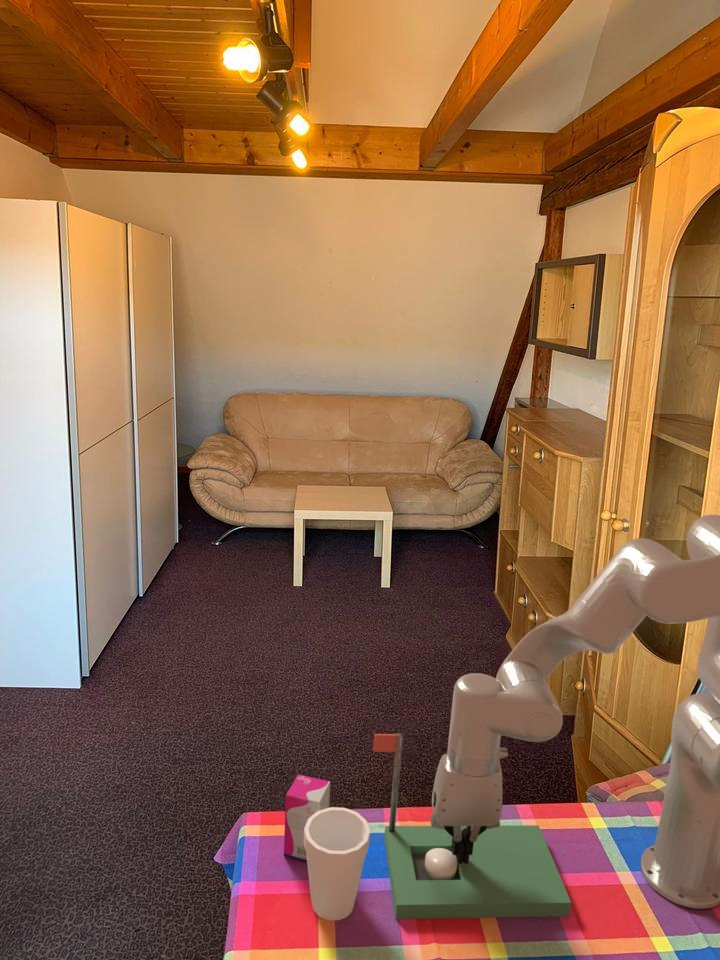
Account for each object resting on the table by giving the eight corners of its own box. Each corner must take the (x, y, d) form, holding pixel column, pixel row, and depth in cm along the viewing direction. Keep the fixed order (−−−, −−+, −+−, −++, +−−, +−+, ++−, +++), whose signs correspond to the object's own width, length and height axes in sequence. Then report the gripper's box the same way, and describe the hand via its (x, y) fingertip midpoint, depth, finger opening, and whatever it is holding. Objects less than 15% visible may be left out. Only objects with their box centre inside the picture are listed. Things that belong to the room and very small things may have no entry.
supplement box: (328, 840, 124) (331, 780, 120) (316, 865, 118) (319, 804, 115) (295, 831, 125) (297, 772, 122) (282, 856, 119) (284, 795, 116)
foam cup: (356, 936, 106) (362, 860, 102) (293, 922, 108) (297, 846, 104) (369, 885, 115) (374, 813, 111) (311, 872, 117) (314, 802, 113)
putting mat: (536, 837, 127) (552, 732, 121) (569, 916, 111) (588, 799, 106) (366, 838, 124) (373, 730, 119) (375, 919, 109) (384, 799, 103)
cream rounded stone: (450, 857, 120) (452, 846, 119) (460, 881, 115) (461, 870, 115) (420, 859, 119) (421, 849, 119) (429, 884, 114) (430, 873, 114)
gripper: (514, 740, 116) (501, 839, 121) (419, 740, 115) (410, 839, 120) (528, 771, 109) (514, 875, 114) (427, 771, 108) (417, 876, 113)
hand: (461, 856), depth 117 cm, fingers closed
